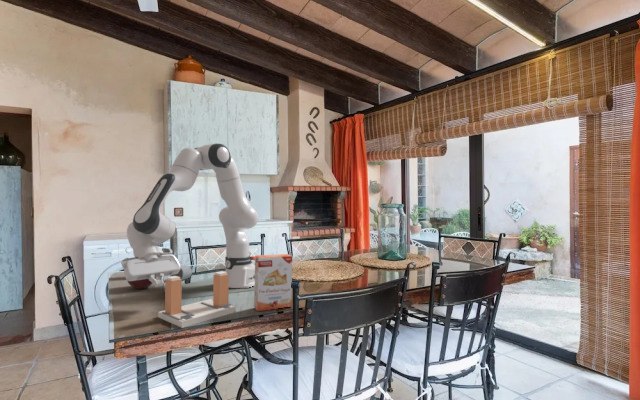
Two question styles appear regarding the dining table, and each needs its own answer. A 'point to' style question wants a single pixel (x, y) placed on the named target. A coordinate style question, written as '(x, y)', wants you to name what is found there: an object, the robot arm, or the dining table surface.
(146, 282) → the round-bottom flask
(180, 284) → the orange rectangular block
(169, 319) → the white base plate
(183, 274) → the ceramic mug
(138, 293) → the dining table surface
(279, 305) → the cracker box
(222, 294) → the tan tall bar
